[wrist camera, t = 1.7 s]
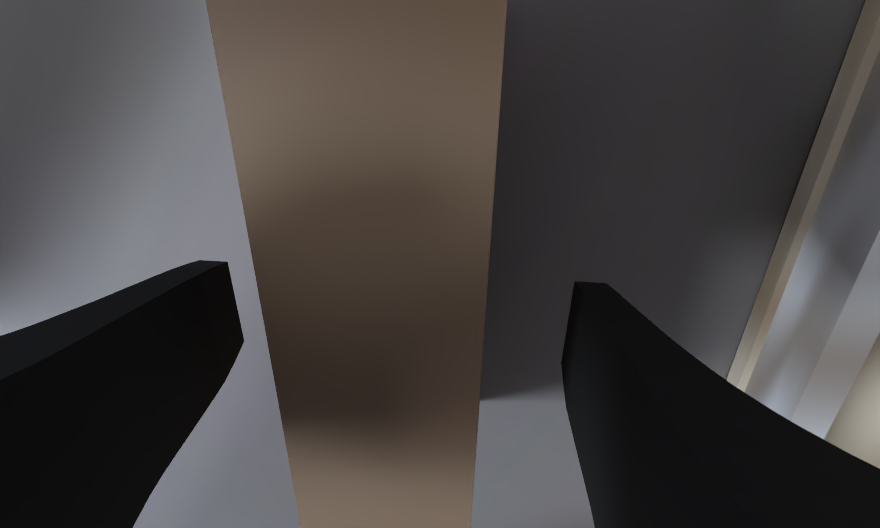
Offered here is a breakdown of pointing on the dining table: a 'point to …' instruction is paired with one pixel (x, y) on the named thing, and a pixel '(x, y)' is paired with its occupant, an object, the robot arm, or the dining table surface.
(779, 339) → the door track
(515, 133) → the dining table surface
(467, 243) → the brown rectangular block
